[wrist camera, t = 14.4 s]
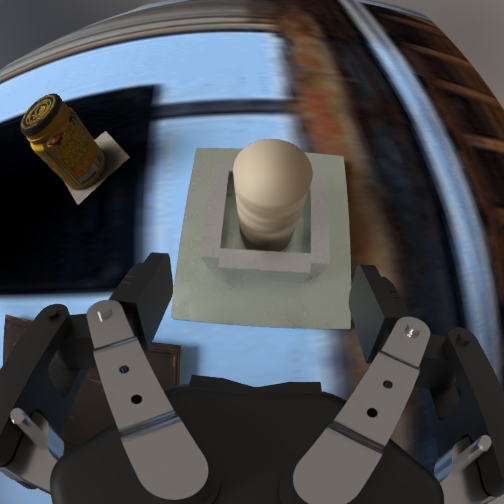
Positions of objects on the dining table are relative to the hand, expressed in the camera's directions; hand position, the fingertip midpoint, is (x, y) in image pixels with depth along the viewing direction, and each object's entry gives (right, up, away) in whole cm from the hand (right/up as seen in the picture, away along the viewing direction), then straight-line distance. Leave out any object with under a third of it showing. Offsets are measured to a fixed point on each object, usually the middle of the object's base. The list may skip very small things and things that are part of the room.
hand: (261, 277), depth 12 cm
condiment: (-20, +12, +20) cm, 31 cm away
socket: (+1, +3, +16) cm, 17 cm away
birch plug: (+1, +3, +15) cm, 15 cm away
